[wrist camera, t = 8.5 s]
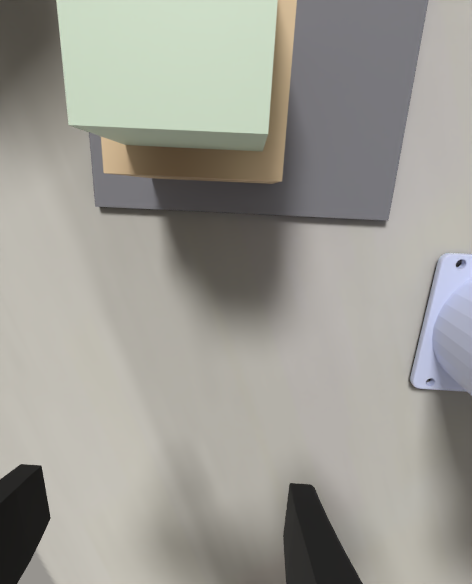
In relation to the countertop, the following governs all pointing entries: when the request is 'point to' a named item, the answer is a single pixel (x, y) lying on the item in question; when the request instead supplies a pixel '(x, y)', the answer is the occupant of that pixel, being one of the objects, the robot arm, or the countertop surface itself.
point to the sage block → (170, 70)
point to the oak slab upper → (216, 160)
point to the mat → (316, 122)
